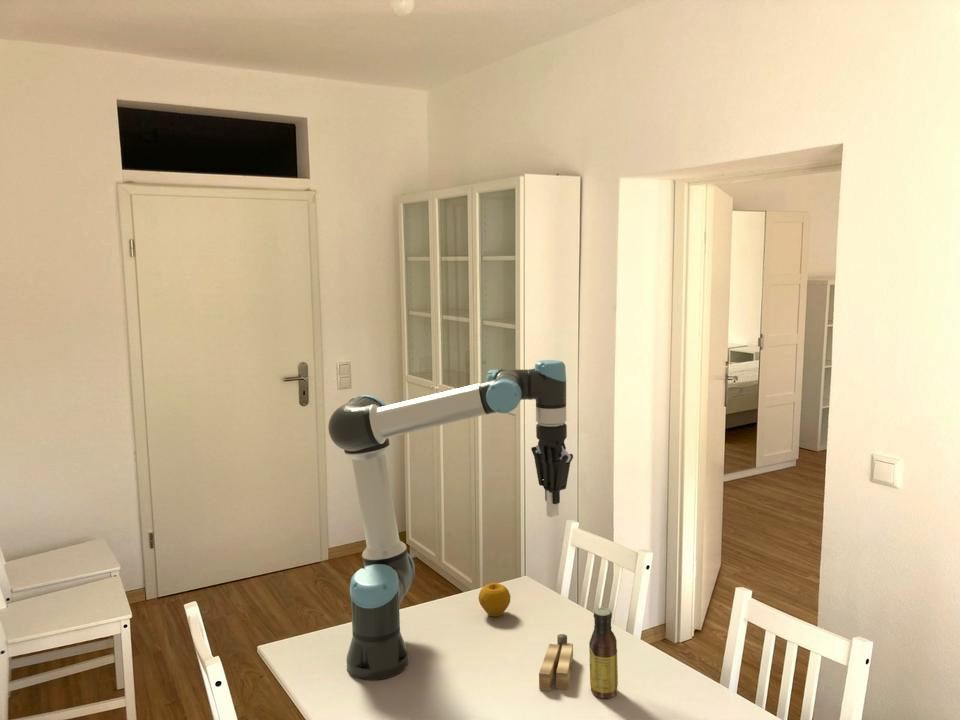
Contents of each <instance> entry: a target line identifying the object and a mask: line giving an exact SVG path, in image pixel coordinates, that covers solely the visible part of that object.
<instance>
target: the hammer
mask: <svg viewBox="0 0 960 720" xmlns="http://www.w3.org/2000/svg"><path fill="white" fill-rule="evenodd" d="M556 636H557V639H556V641H557V644H556V645H560V658H559V663H558V667H557V670H556V673H555V676H556V678H555V679H556V683H555V684H556V685H555V686H556V689H557V690H565V691H566V690H568V688H569V683H570V677H571V672H572V666H573V662H574V661H573V660H574V644H573V643H569V642H568V635H567V634H565V633H559V634H558V635H556Z"/></svg>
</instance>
